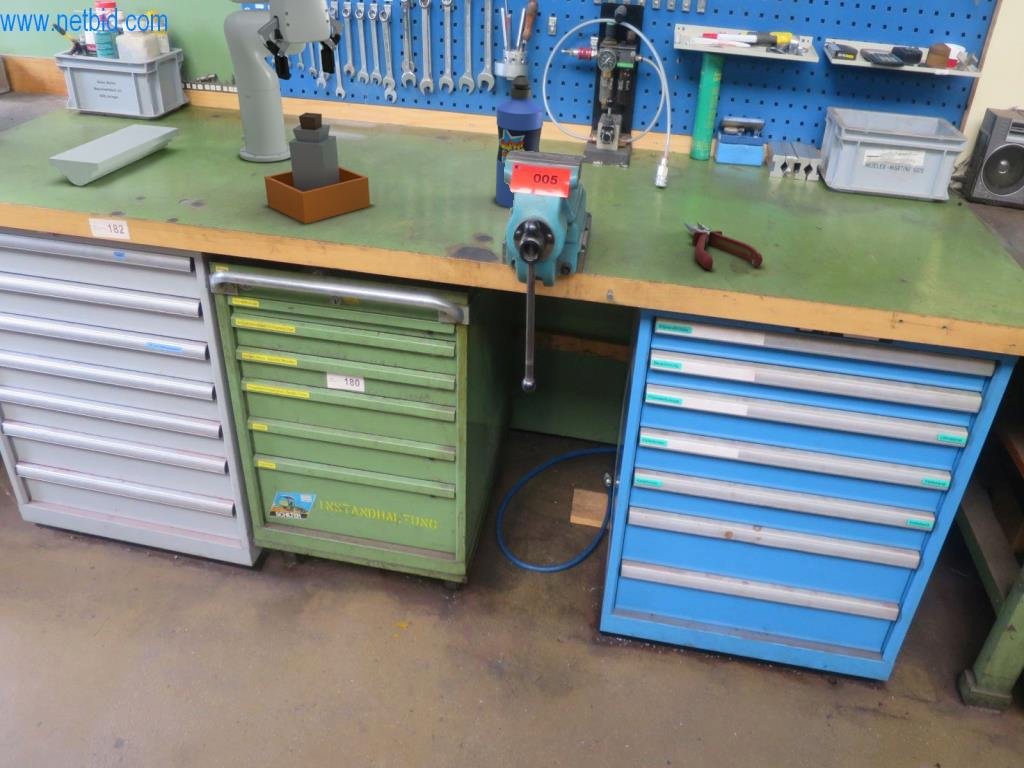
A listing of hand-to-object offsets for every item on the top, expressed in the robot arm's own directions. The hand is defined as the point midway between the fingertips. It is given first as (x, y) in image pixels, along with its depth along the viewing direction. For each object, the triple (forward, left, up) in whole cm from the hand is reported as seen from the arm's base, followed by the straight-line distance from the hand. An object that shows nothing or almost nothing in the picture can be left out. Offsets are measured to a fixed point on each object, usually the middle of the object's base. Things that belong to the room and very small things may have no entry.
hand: (306, 75), depth 147 cm
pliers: (+68, +42, -25) cm, 84 cm away
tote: (0, 0, -25) cm, 25 cm away
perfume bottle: (0, 0, -25) cm, 25 cm away
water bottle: (+24, +33, -25) cm, 48 cm away
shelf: (-51, -18, -25) cm, 60 cm away
